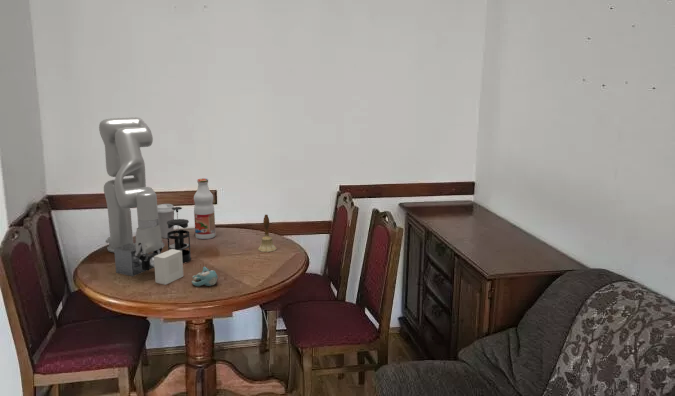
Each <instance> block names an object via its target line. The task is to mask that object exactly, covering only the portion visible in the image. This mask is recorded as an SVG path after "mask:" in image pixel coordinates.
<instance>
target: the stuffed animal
mask: <svg viewBox="0 0 675 396" xmlns="http://www.w3.org/2000/svg"><path fill="white" fill-rule="evenodd" d="M191 278H192V279H193V280H191V283H192V285H194V286H195V287H201V286H204V285H205V286H207V287H210V286H214V285H216V283H217V281H218V279H219V277H218V274H217V273H216V270H212V269H209V268H207V267H206V266H203V267H202V271H201V272H198V273H197V274H195V275H192V277H191Z"/></svg>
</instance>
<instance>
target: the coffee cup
mask: <svg viewBox="0 0 675 396" xmlns="http://www.w3.org/2000/svg"><path fill="white" fill-rule="evenodd" d="M174 207H175V206H174V204H171V203H163V204H157V210H158V218H159V220H158V225H159V226H160V230H161V236H162V239H168V237H167V233H168V232H171V231H175V227H174V226H172V227H171V228H168V224H167V221H170V220H174V219H175V212H176V210H173V209H172V208H174ZM170 236H174V234H171V235H170Z"/></svg>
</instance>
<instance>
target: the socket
mask: <svg viewBox="0 0 675 396" xmlns="http://www.w3.org/2000/svg"><path fill="white" fill-rule="evenodd" d="M183 264H184V263H183V260H182V251H180V250H175V249H170V250H166V251H164V252H161V254H158V255H156V256H154V266H155V268H154V277H155V280H154V281H155V283H157V284H160V285H165V286H166V285H168V284H170V283H172V282H175V281H176V280H179V279H181V278H182V277H184V265H183Z"/></svg>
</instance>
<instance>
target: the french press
mask: <svg viewBox="0 0 675 396" xmlns="http://www.w3.org/2000/svg"><path fill="white" fill-rule="evenodd" d="M172 209H173V210H175V213H176V219H175V218H174V220H170V221H167V224H168V228H171V227H172V226H175V227H176V226H177V230H175V229H174V231H171V232H168V233H167V237H168V238H167V249H168V250H171V249H175V250H180V251H182V260H183V264H186V263H185V262H187V263H189V262H191V261H192V257H191V240H190V237H191V235H190V231H188V230H186V229H187V228H188V227H189V223H190V221H189V219H184V218H179V211H181V210H182V209H183V207H181V206H174V208H172ZM180 227H181V228H182V229H179V228H180ZM184 229H185V230H184ZM171 234H173V236H170V235H171ZM175 234H177V235H175ZM186 238H188V243H186V242H185V239H186ZM170 239H171V240H174V243H172V244H170ZM168 250H167V251H168Z"/></svg>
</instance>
